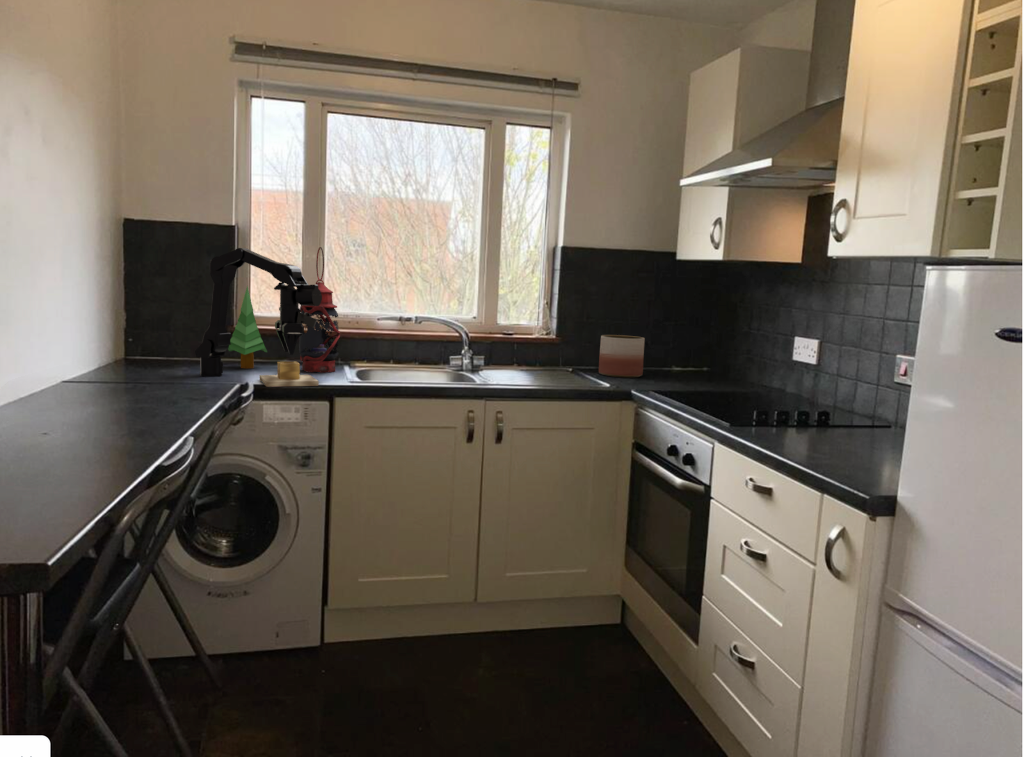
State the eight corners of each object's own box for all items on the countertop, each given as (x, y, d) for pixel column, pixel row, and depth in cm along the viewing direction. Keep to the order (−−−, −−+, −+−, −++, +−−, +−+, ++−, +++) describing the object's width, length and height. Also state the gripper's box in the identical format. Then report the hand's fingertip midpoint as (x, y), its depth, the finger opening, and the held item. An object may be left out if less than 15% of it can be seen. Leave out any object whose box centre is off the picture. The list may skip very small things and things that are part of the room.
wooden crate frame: (280, 379, 245) (280, 363, 244) (277, 376, 250) (277, 361, 250) (299, 379, 248) (299, 363, 247) (296, 376, 253) (296, 361, 252)
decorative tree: (218, 366, 282) (218, 284, 278) (259, 364, 292) (259, 285, 289) (234, 370, 272) (233, 285, 268) (275, 368, 283) (276, 286, 279)
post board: (266, 386, 239) (266, 369, 238) (259, 379, 253) (259, 363, 252) (318, 385, 245) (318, 368, 245) (308, 379, 260) (309, 362, 259)
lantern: (295, 368, 287) (296, 246, 281) (334, 368, 293) (336, 248, 287) (302, 373, 273) (304, 245, 267) (343, 373, 279) (346, 247, 273)
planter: (642, 374, 319) (645, 336, 317) (642, 379, 301) (644, 339, 299) (599, 371, 322) (601, 334, 320) (596, 376, 304) (599, 336, 302)
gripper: (320, 306, 241) (320, 356, 243) (309, 304, 258) (308, 350, 260) (284, 305, 236) (284, 356, 238) (274, 303, 253) (274, 350, 255)
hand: (289, 353), depth 248 cm, fingers open, 9 cm apart
